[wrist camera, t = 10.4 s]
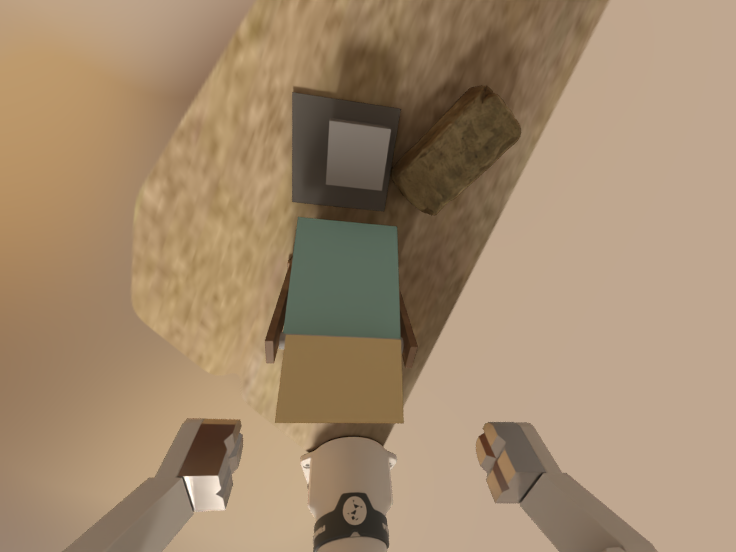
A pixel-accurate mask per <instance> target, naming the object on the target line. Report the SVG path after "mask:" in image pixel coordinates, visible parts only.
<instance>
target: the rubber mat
mask: <svg viewBox="0 0 736 552" xmlns="http://www.w3.org/2000/svg"><path fill="white" fill-rule="evenodd" d="M400 111H401V109H399V108H392V107H386V106H379V105H373V104H366V103H359V102H353V101H346V100H340V99H333V98H326V97H320V96H313V95H307V94H300V93H294V92H292V202H298V203H307V204H317V205H327V206H336V207H346V208H356V209H366V210H375V211H384V210H385V204H386V197H387V191H388V185H389V179H390V173H391V166H392V160H393V154H394V148H395V142H396V135H397V129H398V123H399V117H400ZM331 118H334V119H341V120H348V121H355V122H362V123H369V124H376V125H383V126H385V127H387V128H389V129H391V133H390V140H389V146H388V153H387V159H386V166H385V173H384V179H383V186H382V191H379V190H370V189H361V188H353V187H344V186H335V185H326V174H327V157H328V139H329V121H330V119H331Z"/></svg>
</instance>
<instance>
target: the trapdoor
mask: <svg viewBox="0 0 736 552" xmlns="http://www.w3.org/2000/svg"><path fill="white" fill-rule="evenodd" d="M403 348H404V342H403V338H402V337H401V336H400V304H399V271H398V239H397V227H396V226H386V225H376V224H365V223H355V222H345V221H334V220H324V219H313V218H303V217H298V221H297V229H296V237H295V244H294V252H293V260H292V268H291V275H290V283H289V291H288V299H287V306H286V314H285V322H284V329H283V332H281V333H280V338H279V349H284V354H283V362H282V370H281V378H280V386H279V394H278V402H277V410H276V418H275V423H404V420H403V388H402V356H401V354H402V353H403Z"/></svg>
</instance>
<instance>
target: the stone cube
mask: <svg viewBox="0 0 736 552" xmlns="http://www.w3.org/2000/svg"><path fill="white" fill-rule="evenodd" d="M390 133H391V129H389V128H387V127H385V126H383V125H376V124H369V123H362V122H355V121H348V120H341V119H334V118H331V119H330V121H329V139H328V157H327V174H326V185H335V186H344V187H353V188H361V189H370V190H379V191H382V186H383V179H384V173H385V166H386V159H387V153H388V146H389V140H390Z"/></svg>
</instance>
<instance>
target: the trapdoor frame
mask: <svg viewBox="0 0 736 552" xmlns="http://www.w3.org/2000/svg"><path fill="white" fill-rule="evenodd" d="M292 260H293V257H292V258H291V260H288V271H287V274H286V277H285V280H284V283H283V286H282V289H281V293H280V296H279V299H278V302H277V305H276V308H275V311H274V314H273V317H272V320H271V324H270V327H269V330H268V333H267V336H266V339H265V351H266V363H274V361H275V357H276V353H277V349H278V346H279V338H280V333H281V332H282V330H283V326H284V322H285V314H286V306H287V299H288V291H289V283H290V275H291V268H292ZM399 304H400V336H401V337H402V338H403V342H404V348H403V353H402V356H403V360H404V364H405V367H407V368H412V366H413V362H414V359H415V355H416V352H417V348H418V346H417V343H416V340H415V337H414V333H413V330H412V327H411V324H410V321H409V318H408V314H407V311H406V308H405V305H404V302H403V299H402V295H401V292H400V289H399Z"/></svg>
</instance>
